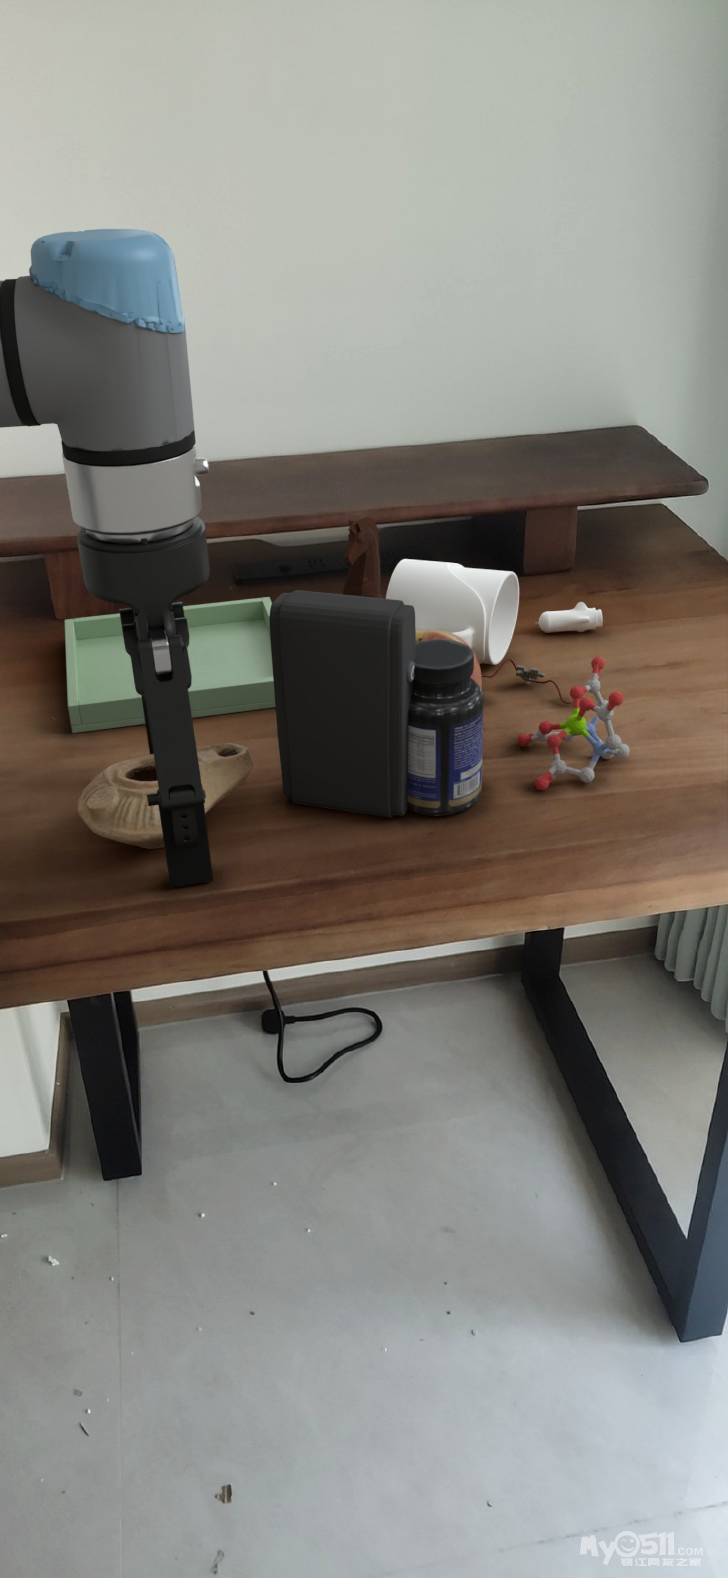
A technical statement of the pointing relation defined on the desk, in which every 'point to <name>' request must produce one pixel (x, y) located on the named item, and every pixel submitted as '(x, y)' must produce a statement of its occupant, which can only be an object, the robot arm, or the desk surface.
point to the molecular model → (581, 730)
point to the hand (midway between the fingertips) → (181, 825)
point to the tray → (219, 654)
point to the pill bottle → (444, 730)
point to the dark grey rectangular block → (343, 699)
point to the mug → (460, 603)
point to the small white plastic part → (571, 619)
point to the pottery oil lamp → (123, 788)
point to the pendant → (528, 675)
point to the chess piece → (363, 559)
